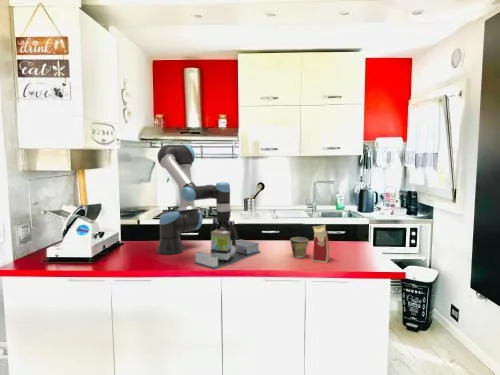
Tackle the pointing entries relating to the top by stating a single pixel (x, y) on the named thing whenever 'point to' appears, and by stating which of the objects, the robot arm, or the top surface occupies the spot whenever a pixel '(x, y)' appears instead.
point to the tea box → (221, 244)
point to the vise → (216, 263)
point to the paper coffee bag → (320, 245)
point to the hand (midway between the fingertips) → (223, 249)
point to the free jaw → (246, 246)
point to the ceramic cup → (299, 246)
